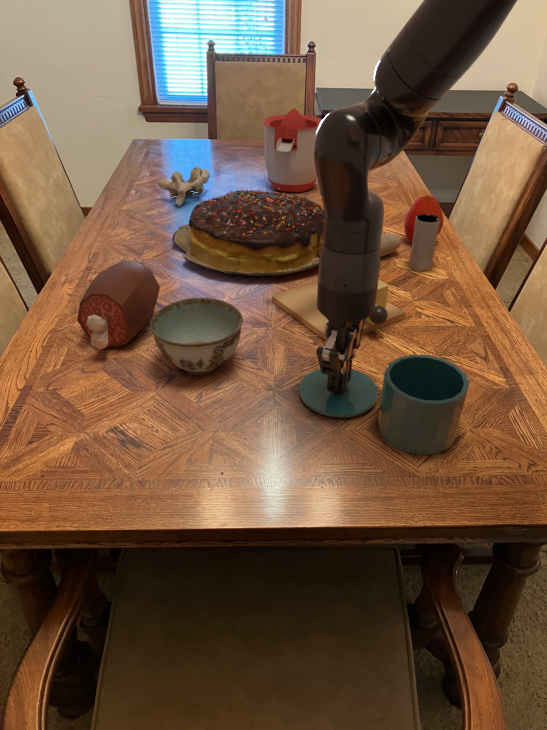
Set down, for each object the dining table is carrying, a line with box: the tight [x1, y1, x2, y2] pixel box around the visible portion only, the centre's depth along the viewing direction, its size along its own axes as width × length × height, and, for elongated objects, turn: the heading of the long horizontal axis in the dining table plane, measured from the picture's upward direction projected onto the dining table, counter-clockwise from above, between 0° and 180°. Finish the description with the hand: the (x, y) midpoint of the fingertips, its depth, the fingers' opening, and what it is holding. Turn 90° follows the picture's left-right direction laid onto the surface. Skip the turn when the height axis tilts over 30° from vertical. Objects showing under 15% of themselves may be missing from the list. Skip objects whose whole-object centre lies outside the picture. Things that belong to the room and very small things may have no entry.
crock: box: [377, 354, 470, 456], centre depth 74 cm, size 10×10×8 cm
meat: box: [76, 258, 161, 351], centre depth 94 cm, size 20×12×10 cm, turn 170°
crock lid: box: [298, 358, 379, 418], centre depth 81 cm, size 11×11×7 cm
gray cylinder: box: [408, 214, 440, 272], centre depth 114 cm, size 4×4×10 cm
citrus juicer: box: [262, 108, 323, 193], centre depth 151 cm, size 16×17×20 cm
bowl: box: [149, 297, 244, 376], centre depth 87 cm, size 14×13×8 cm
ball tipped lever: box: [369, 304, 388, 324], centre depth 95 cm, size 15×3×3 cm, turn 34°
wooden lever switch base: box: [271, 280, 406, 342], centre depth 99 cm, size 18×16×12 cm
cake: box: [171, 189, 324, 277], centre depth 123 cm, size 37×37×10 cm
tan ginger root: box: [157, 166, 211, 208], centre depth 148 cm, size 9×14×8 cm, turn 136°
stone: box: [380, 233, 402, 258], centre depth 119 cm, size 6×6×12 cm
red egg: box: [403, 194, 444, 244], centre depth 124 cm, size 8×8×11 cm
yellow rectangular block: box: [376, 279, 389, 309], centre depth 97 cm, size 3×2×6 cm
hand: (338, 385), depth 82 cm, fingers closed on crock lid, 2 cm apart
